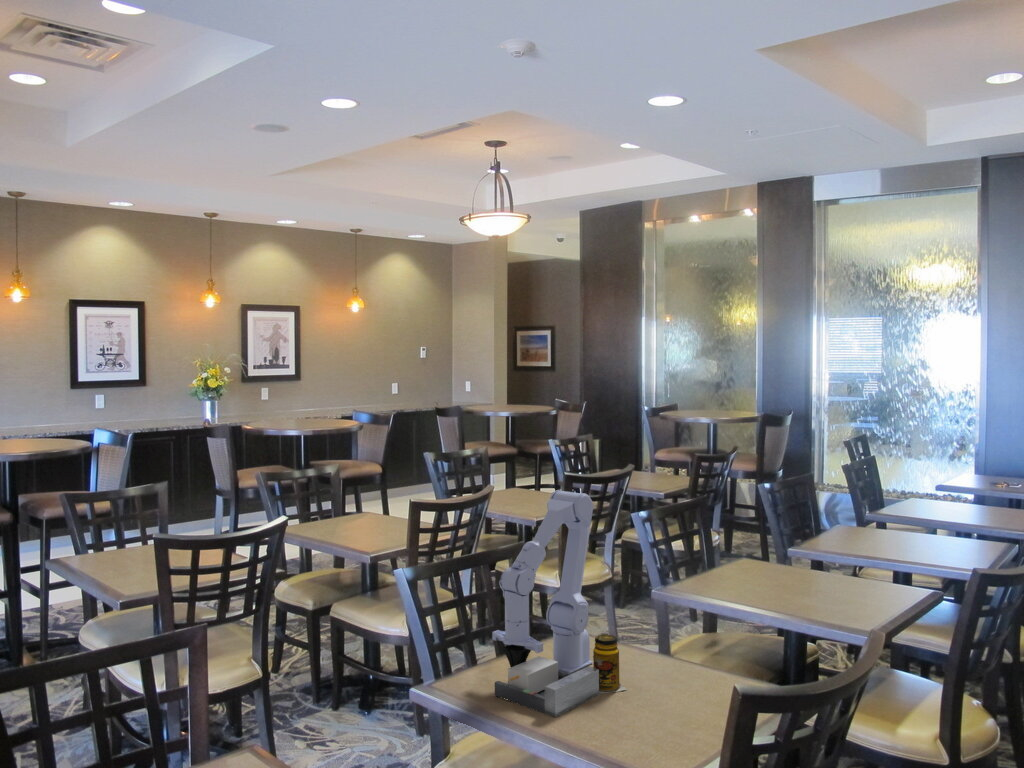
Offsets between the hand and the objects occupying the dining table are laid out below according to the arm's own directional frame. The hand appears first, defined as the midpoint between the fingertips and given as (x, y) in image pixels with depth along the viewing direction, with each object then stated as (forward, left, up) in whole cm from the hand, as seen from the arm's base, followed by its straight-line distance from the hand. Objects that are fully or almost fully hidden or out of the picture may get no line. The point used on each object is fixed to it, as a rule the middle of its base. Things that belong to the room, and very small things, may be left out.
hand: (517, 675), depth 198 cm
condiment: (-13, +16, -3) cm, 21 cm away
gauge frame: (0, +9, -2) cm, 9 cm away
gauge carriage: (+1, +5, -1) cm, 5 cm away
